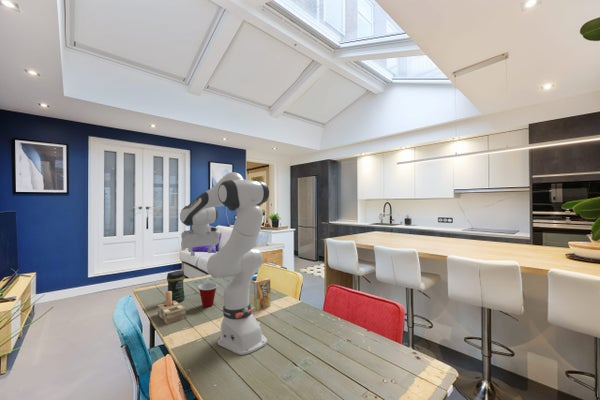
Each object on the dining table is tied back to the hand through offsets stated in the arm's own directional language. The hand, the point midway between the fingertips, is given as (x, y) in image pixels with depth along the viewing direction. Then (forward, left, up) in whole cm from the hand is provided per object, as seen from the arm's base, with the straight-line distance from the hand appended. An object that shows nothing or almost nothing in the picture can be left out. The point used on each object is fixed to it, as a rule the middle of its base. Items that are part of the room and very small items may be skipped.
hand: (201, 254), depth 141 cm
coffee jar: (+28, +4, -33) cm, 43 cm away
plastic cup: (+7, -7, -33) cm, 34 cm away
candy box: (-18, -28, -33) cm, 46 cm away
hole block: (+8, +13, -32) cm, 36 cm away
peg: (+12, +13, -32) cm, 37 cm away
